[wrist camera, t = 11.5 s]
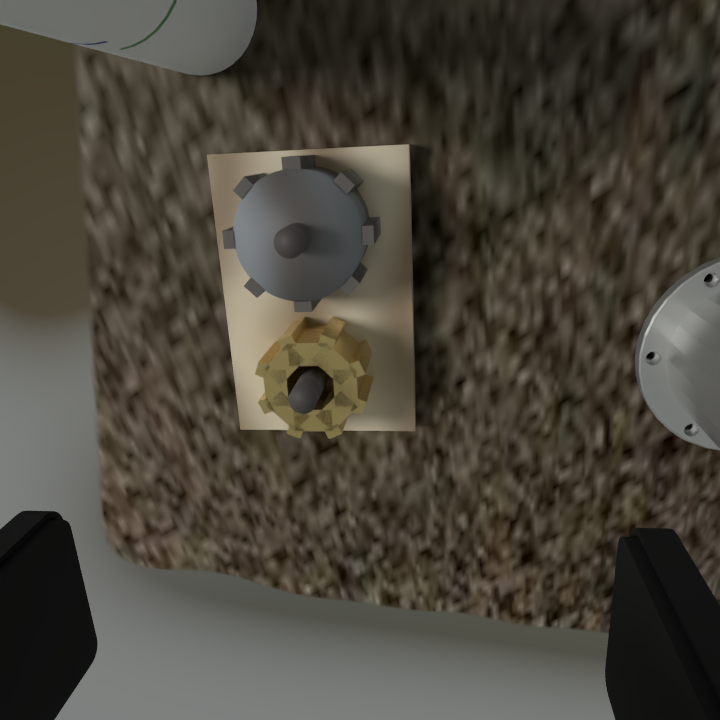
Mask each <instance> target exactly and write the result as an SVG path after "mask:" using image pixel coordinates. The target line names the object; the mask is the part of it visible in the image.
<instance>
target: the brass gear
mask: <svg viewBox="0 0 720 720" xmlns="http://www.w3.org/2000/svg"><path fill="white" fill-rule="evenodd" d="M345 322H346V321H344V320H342V319H339V318H336V317H334V316H332V318H331V320H330V321H329V323H328V324H309V323H308V321H307V319H306V317H303V318H301V319H298V320H296V321H294V322H292V324H291V325H290V326H289V327H288V329H287V330H286V331H285V332H284V333H283V335H282V336H281V337H280V338H279V340H278V341H275V342H274V343H273V345H272V346H271V347H270V348H269V350H268V351H267V352H266V353H265V354H264V356H263V357H262V358H261V359H260V360H259V362H258V365H257V369H256V372H255V375H258V376H260V377H263V379H264V388H265V392H264V394H263V395H262V396H261V398H260V399H259V401H258V403H259V405H260V407H261V409H262V411H263V412H264V414H267V413H270V412H272V411H273V412H274V413H275V414H276V415H277V416H278V417H280V418H281V419H282V420H283V421H284V422H285V423H287V424H288V425H289V428H288V431H287V434H289V435H292V436H295V437H297V438H301V436H302V434H303V432H304V431H325V433H326V434H327V436H328V438H329V439H330V438H333V437H335V436H338V435H341V434H342V433H343V430H344V427H345V424H346V421H347V418H348V416H349V415H350V414H351V413H352V412H355V413H358V414H360V415H362V413H363V410H364V408H365V405H366V403H367V399H368V396H369V392H370V389H371V385H372V382H373V379H374V378H372V377H370V376H367V375H366V370H367V367H368V364H369V361H370V358H371V355H372V350H371V348H370V346H369V344H368V342H367V340H365V341H363V342H360V343H358V342H357V341H356V340H355V339H354V338H353V337H351V336H350V335H349V334H348V333H347V332H346V331H345V330H344V329H343V328H344V325H345ZM302 366H319V367H320V368H321V369H322V370H324V371H325V372H326V373H327V374H328V375H329V376H330V377H331V378H333V384H334V385H325V387H324V389H323V391H322V393H321V396H320V398H319V400H318V402H317V404H316V406H315V408H314V409H313V410H312V411H311V412H309V413H306V414H301V413H297V412H295V411H294V410H293V409H292V408H291V407H290V405H289V402H288V398H289V394H290V393H291V391H292V389H293V388H294V386H295V384H296V383H297V381H298V379H299V378H300V376H301V374H302Z"/></svg>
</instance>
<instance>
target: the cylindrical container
mask: <svg viewBox="0 0 720 720" xmlns="http://www.w3.org/2000/svg"><path fill="white" fill-rule="evenodd" d="M256 20H257V1H256V0H0V24H1V25H5V26H9V27H13V28H16V29H20V30H24V31H28V32H31V33H35V34H39V35H43V36H47V37H50V38H55V39H58V40H62V41H65V42H70V43H73V44H77V45H81V46H84V47H88V48H92V49H96V50H99V51H103V52H107V53H111V54H114V55H118V56H122V57H126V58H129V59H133V60H137V61H141V62H145V63H148V64H152V65H156V66H160V67H164V68H167V69H171V70H175V71H179V72H182V73H186V74H191V75H199V76H202V75H211V74H215V73H218V72H221V71H223V70H225V69H226V68H228V67H230V66H231V65H233V64H234V63H235V62H236V61H237V60H238V59H239V58H240V57H241V56H242V54H243V53H244V51H245V50H246V49H247V47H248V46H249V43H250V41H251V38H252V36H253V34H254V30H255V25H256Z"/></svg>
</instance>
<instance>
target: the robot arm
mask: <svg viewBox="0 0 720 720" xmlns="http://www.w3.org/2000/svg"><path fill="white" fill-rule="evenodd" d="M708 274H710V278H709V279H708V280H707V281H704V279H705V276H706V275H708ZM650 352H653V354H652V356H650V357H646V356H647V354H649V353H650ZM635 370H636V378H637V382H638V385H639V389H640V392H641V394H642V396H643V398H644V400H645V402H646V403H647V405H648V407H649V409H650V410H651V411H652V412H653V413H654V415H655V416H656V417H657V419H658V420H659V421H660V422H661V423H662V424H663V425H664V426H666V427H667V428H668V429H669V430H670V431H671V432H672V433H674V434H675V435H677V436H679V437H680V438H682V439H683V440H685V441H687V442H690V443H693V444H696V445H698V446H701V447H704V448H708V449H714V450H719V451H720V257H719V258H717V259H714V260H711V261H709V262H706V263H704V264H702V265H701V266H699V267H697V268H695V269H694V270H692V271H690V272H689V273H687V274H685V275H684V276H683V277H682V278H680V279H679V280H678V281H677V282H676V283H674V284H673V285H672V286H671V287H670V288H668V290H667V291H666V292H665V293H664V294H663V295H662V296H661V298H660V299H659V300H658V301H657V302H656V303H655V305H654V306H653V308H652V310H651V311H650V313H649V315H648V316H647V318H646V320H645V321H644V324H643V327H642V329H641V332H640V335H639V338H638V341H637V347H636V354H635ZM688 424H690V425H689V426H688V427H686V426H687V425H688ZM96 651H97V637H96V633H95V629H94V624H93V620H92V616H91V611H90V607H89V603H88V599H87V594H86V590H85V586H84V582H83V577H82V573H81V569H80V564H79V560H78V556H77V551H76V547H75V543H74V539H73V535H72V530H71V527H70V524H69V523H68V522H67V521H65V520H63V518H62V516H61V515H60V514H59V513H57V512H54V511H22V512H21V513H19V514H18V515H16V516H15V517H14V518H13V519H12V520H11V521H9V522H8V523H7V524H6V525H5V526H4V527H3V528H1V529H0V720H54V719H55V718H56V716H57V715H58V713H59V712H60V710H61V709H62V707H63V706H64V704H65V703H66V701H67V700H68V698H69V697H70V695H71V694H72V692H73V691H74V689H75V688H76V686H77V685H78V683H79V682H80V680H81V679H82V678H83V676H84V674H85V673H86V672H87V670H88V668H89V667H90V665H91V664H92V662H93V660H94V658H95V654H96ZM605 675H606V676H605V678H606V687H607V692H608V696H609V699H610V703H611V706H612V710H613V713H614V716H615V720H720V606H719V604H718V602H717V601H716V599H715V597H714V595H713V594H712V592H711V590H710V589H709V587H708V585H707V584H706V582H705V580H704V579H703V577H702V575H701V574H700V572H699V570H698V569H697V567H696V565H695V564H694V562H693V560H692V559H691V557H690V555H689V554H688V552H687V550H686V549H685V547H684V545H683V544H682V542H681V540H680V539H679V537H678V535H677V534H676V532H675V531H674V530H672V529H663V528H634V529H632V531H631V534H630V537H620V539H619V541H618V549H617V559H616V568H615V578H614V588H613V598H612V608H611V618H610V628H609V638H608V648H607V658H606V668H605Z"/></svg>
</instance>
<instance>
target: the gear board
mask: <svg viewBox="0 0 720 720" xmlns="http://www.w3.org/2000/svg"><path fill="white" fill-rule="evenodd" d="M207 159H208V168H209V176H210V184H211V192H212V200H213V208H214V216H215V225H216V233H217V241H218V249H219V257H220V265H221V273H222V281H223V290H224V298H225V306H226V314H227V322H228V330H229V338H230V347H231V355H232V363H233V371H234V379H235V387H236V395H237V404H238V412H239V420H240V428H241V430H288V428H289V425H288V424H287V423H285V422H284V421H283V420H282V419H281V418H280V417H278V416H277V415H276V414H275V413H274V412H273V411H272V412H270V413H267V414H264V412H263V411H262V409H261V407H260V405H259V403H258V401H259V399H260V398H261V396H262V395H263V394H264V392H265V388H264V379H263V377H260V376H258V375H255V372H256V369H257V365H258V362H259V360H260V359H261V358H262V357H263V356H264V354H265V353H266V352H267V351H268V350H269V348H270V347H271V346H272V345H273V343H274V342H275V341H278V340H279V338H280V337H281V336H282V335H283V333H284V332H285V331H286V330H287V329H288V327H289V326H290V325H291V324H292V322H294V321H296V320H298V319H301V318H303V317H306V319H307V321H308V323H309V324H328V323H329V321H330V320H331V318H332V316H334V317H336V318H339V319H342V320H344V321H346V322H345V325H344V328H343V329H344V330H345V331H346V332H347V333H348V334H349V335H350V336H351V337H353V338H354V339H355V340H356V341H357V342H358V343H360V342H363V341H365V340H367V342H368V344H369V346H370V348H371V350H372V355H371V358H370V361H369V364H368V367H367V370H366V375H367V376H370V377H372V378H374V379H373V382H372V385H371V389H370V392H369V396H368V399H367V403H366V405H365V408H364V410H363V413H362V415H360V414H358V413H355V412H352V413H351V414H350V415H349V416H348V418H347V421H346V424H345V427H344V430H353V431H415V429H416V400H415V354H414V308H413V262H412V216H411V170H410V144H406V145H387V146H367V147H348V148H329V149H309V150H290V151H271V152H251V153H232V154H213V155H207ZM325 385H334V384H333V378H331V377H330V376H329V375H328V374H327V373H326V372H325V371H324V370H322V369H321V368H320V367H319V366H302V374H301V376H300V378H299V379H298V381H297V383H296V384H295V386H294V388H293V389H292V391H291V393H290V394H289V398H288V402H289V405H290V407H291V408H292V409H293V410H294V411H295V412H297V413H301V414H306V413H309V412H311V411H312V410H313V409H314V408H315V406H316V404H317V402H318V400H319V398H320V396H321V393H322V391H323V389H324V387H325Z"/></svg>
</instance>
